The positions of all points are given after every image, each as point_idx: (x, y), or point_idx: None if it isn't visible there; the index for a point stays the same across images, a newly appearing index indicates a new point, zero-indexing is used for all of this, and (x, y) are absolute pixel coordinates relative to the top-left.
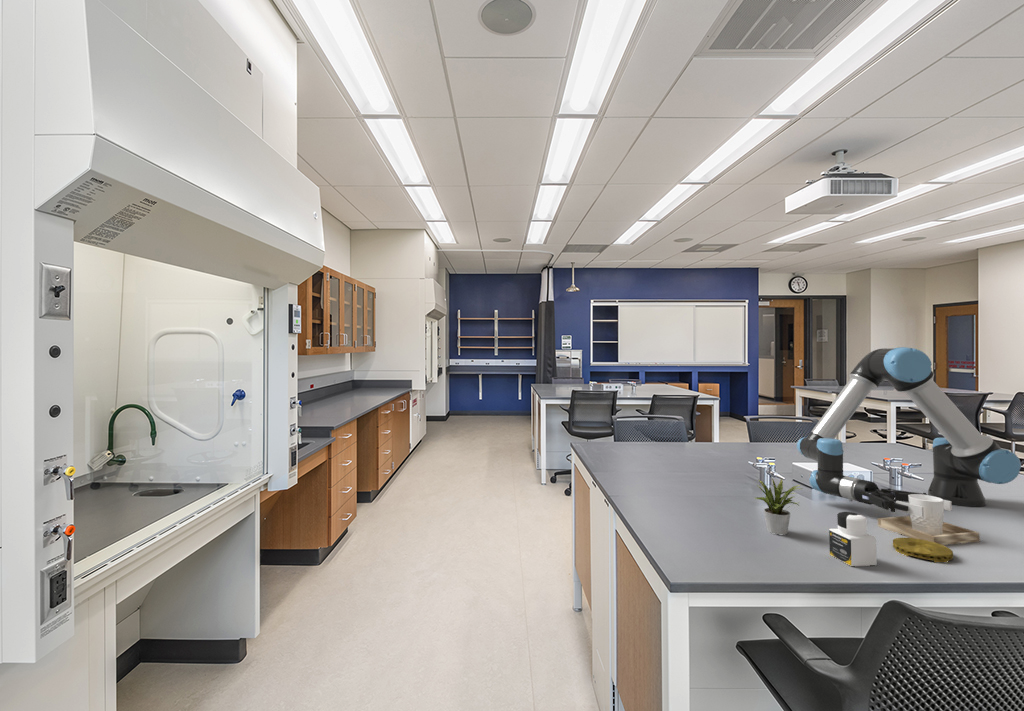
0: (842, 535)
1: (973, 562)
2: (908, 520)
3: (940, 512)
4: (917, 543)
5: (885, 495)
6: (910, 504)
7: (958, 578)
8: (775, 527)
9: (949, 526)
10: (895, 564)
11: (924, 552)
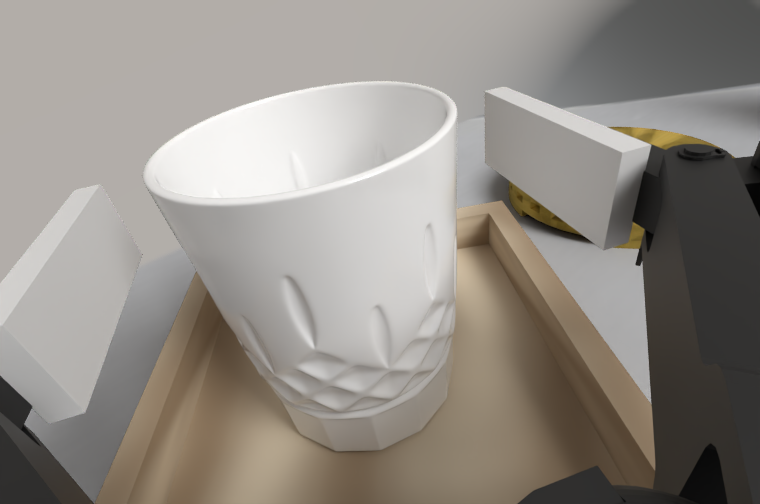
0: None
1: (473, 164)
2: None
3: (326, 176)
4: None
5: (711, 369)
6: (551, 107)
7: (604, 109)
8: None
9: (191, 356)
10: None
11: (641, 132)
